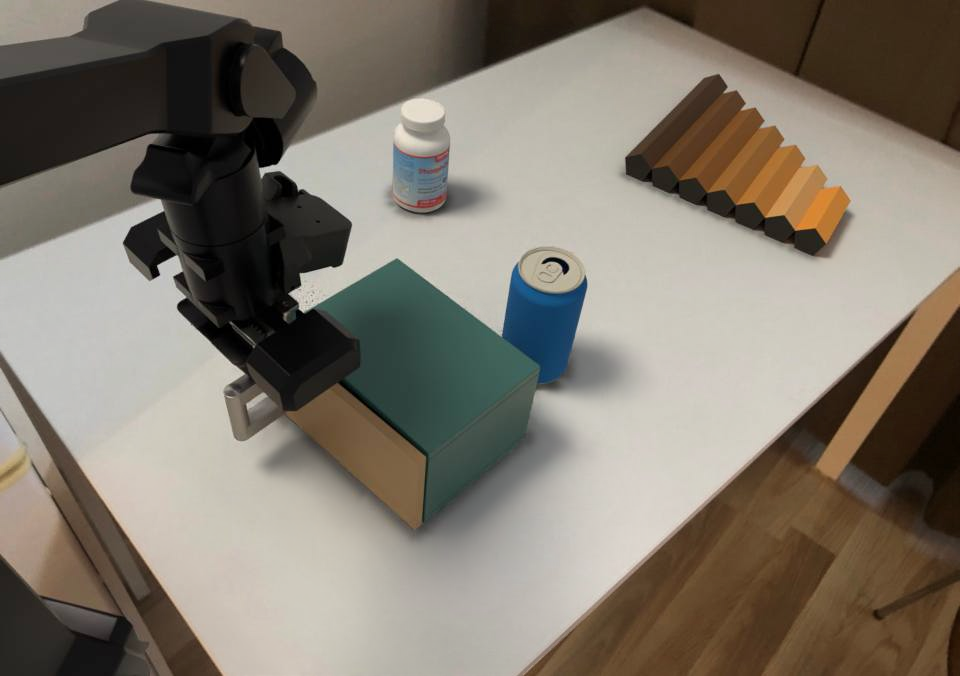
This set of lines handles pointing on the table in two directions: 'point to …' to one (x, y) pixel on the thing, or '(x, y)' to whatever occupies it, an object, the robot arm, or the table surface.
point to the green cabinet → (435, 376)
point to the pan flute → (738, 167)
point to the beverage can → (545, 307)
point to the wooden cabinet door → (343, 441)
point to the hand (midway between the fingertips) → (257, 374)
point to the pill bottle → (421, 156)
